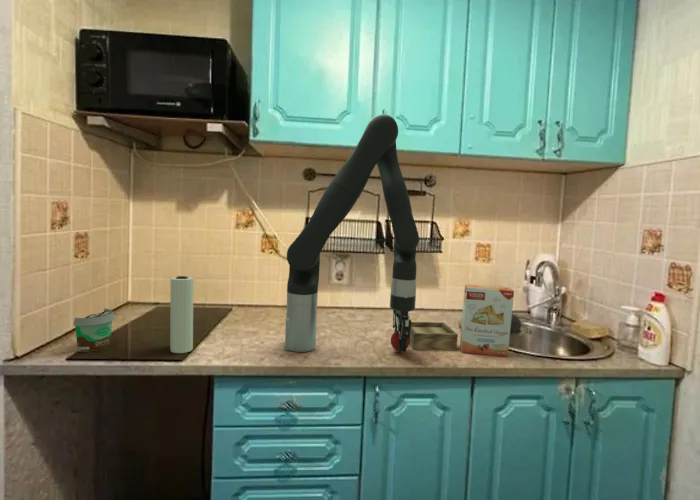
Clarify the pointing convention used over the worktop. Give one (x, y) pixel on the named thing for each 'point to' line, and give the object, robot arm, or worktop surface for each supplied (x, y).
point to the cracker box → (486, 320)
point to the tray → (432, 336)
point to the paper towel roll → (181, 314)
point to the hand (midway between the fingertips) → (400, 347)
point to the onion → (397, 341)
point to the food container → (94, 330)
